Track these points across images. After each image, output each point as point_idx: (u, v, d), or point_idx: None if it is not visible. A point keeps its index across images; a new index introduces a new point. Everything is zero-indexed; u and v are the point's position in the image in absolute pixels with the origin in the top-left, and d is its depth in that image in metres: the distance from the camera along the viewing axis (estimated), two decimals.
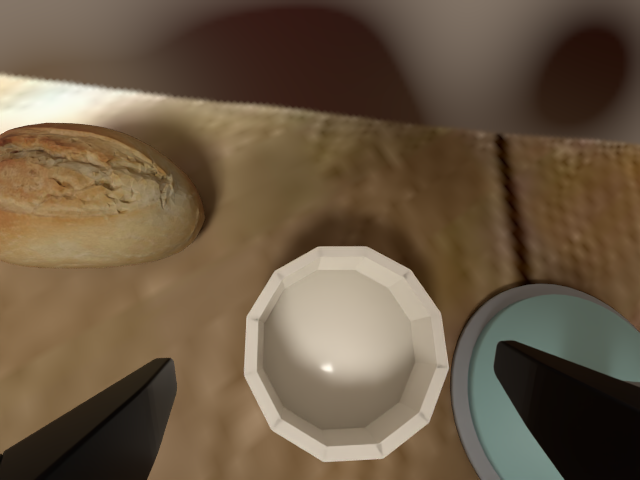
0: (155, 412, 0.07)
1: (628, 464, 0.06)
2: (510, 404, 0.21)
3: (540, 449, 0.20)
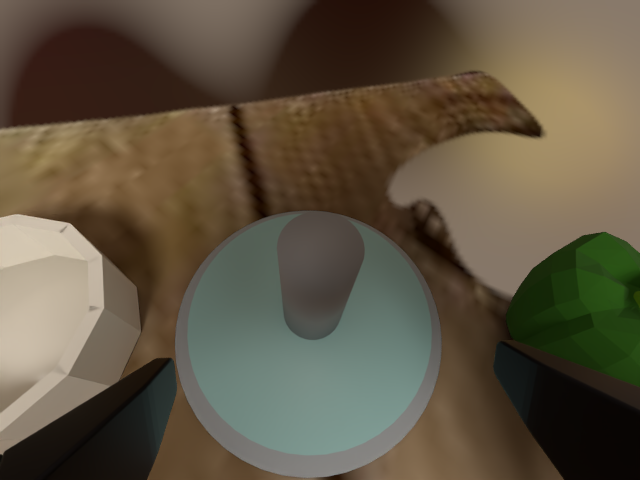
0: (155, 412, 0.07)
1: (627, 463, 0.06)
2: (229, 335, 0.19)
3: (266, 372, 0.18)
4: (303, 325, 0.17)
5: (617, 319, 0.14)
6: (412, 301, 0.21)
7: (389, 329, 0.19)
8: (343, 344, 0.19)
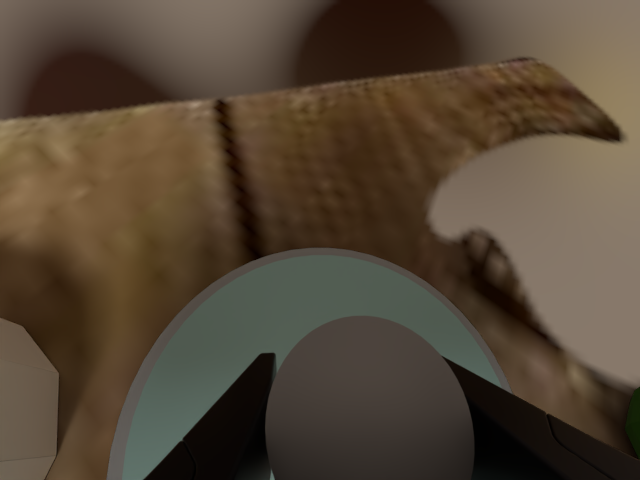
0: None
1: (490, 476, 0.05)
2: None
3: None
4: None
5: None
6: None
7: None
8: None
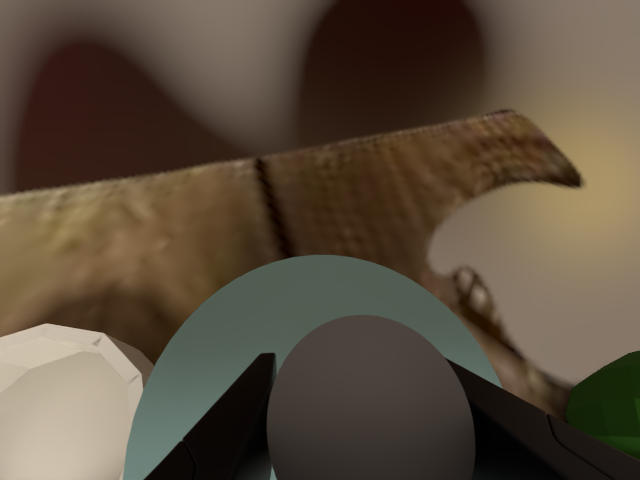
0: None
1: (490, 477, 0.05)
2: None
3: None
4: None
5: None
6: None
7: None
8: None
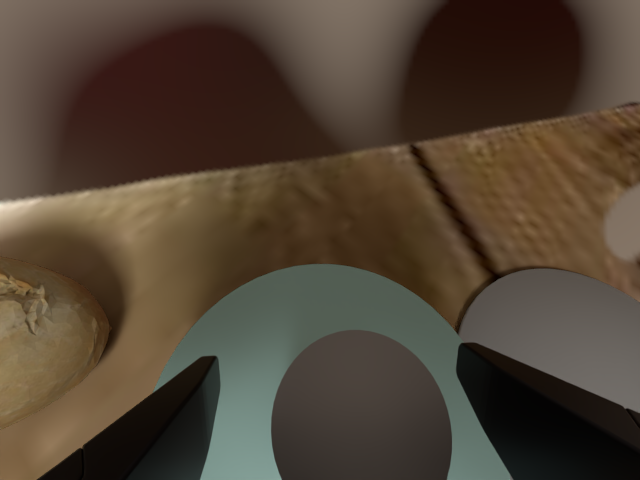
0: (207, 409, 0.07)
1: (569, 469, 0.06)
2: None
3: None
4: None
5: None
6: None
7: None
8: None
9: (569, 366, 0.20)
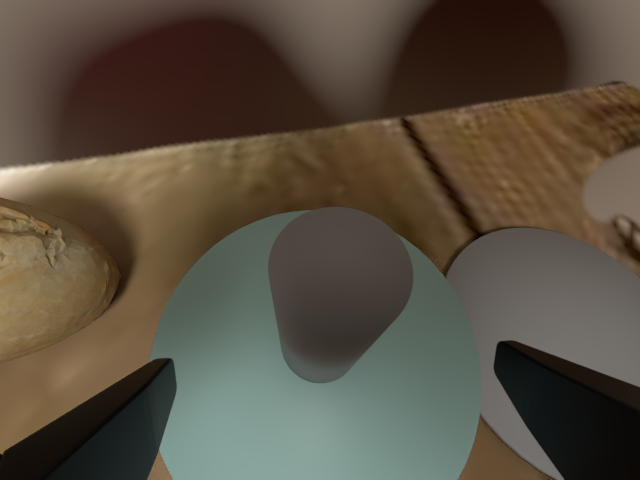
0: (155, 412, 0.07)
1: (628, 464, 0.06)
2: (207, 378, 0.14)
3: (257, 432, 0.13)
4: (309, 371, 0.12)
5: None
6: (452, 326, 0.15)
7: (424, 367, 0.14)
8: (362, 389, 0.14)
9: (545, 311, 0.22)
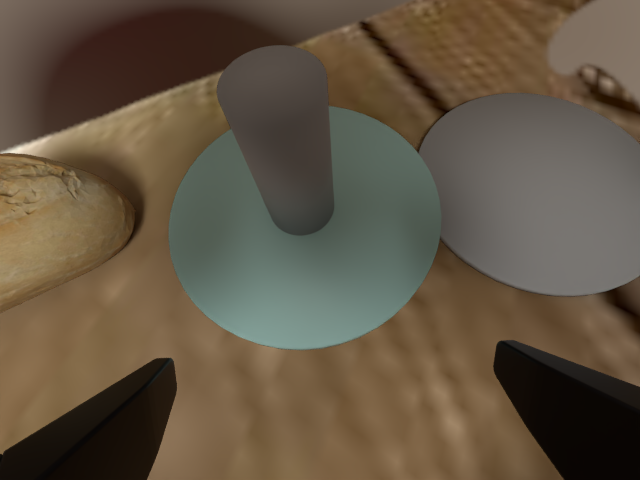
0: (155, 412, 0.07)
1: (628, 464, 0.06)
2: (216, 248, 0.17)
3: (262, 276, 0.16)
4: (287, 211, 0.14)
5: None
6: (412, 174, 0.18)
7: (391, 207, 0.17)
8: (341, 232, 0.17)
9: (512, 163, 0.24)
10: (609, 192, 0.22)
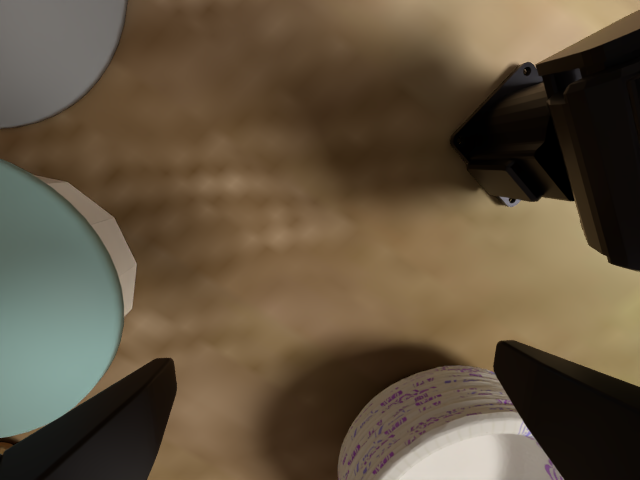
0: (155, 412, 0.07)
1: (628, 463, 0.06)
2: None
3: (35, 356, 0.16)
4: None
5: None
6: None
7: None
8: None
9: None
10: None
